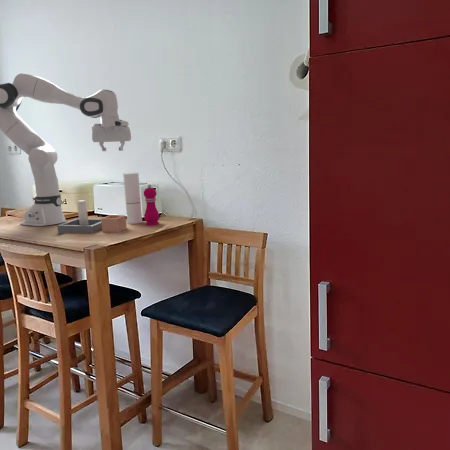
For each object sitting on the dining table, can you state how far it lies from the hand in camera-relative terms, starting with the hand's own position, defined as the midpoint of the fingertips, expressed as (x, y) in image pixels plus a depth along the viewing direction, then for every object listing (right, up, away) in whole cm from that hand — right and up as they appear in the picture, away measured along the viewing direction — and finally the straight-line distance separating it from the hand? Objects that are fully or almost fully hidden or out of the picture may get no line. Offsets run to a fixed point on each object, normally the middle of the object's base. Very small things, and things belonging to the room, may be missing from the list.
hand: (112, 150), depth 240 cm
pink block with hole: (+7, -41, -23) cm, 47 cm away
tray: (-9, -40, -18) cm, 45 cm away
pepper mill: (+22, -38, -14) cm, 47 cm away
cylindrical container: (+13, -37, -8) cm, 40 cm away
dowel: (-9, -39, -18) cm, 44 cm away
